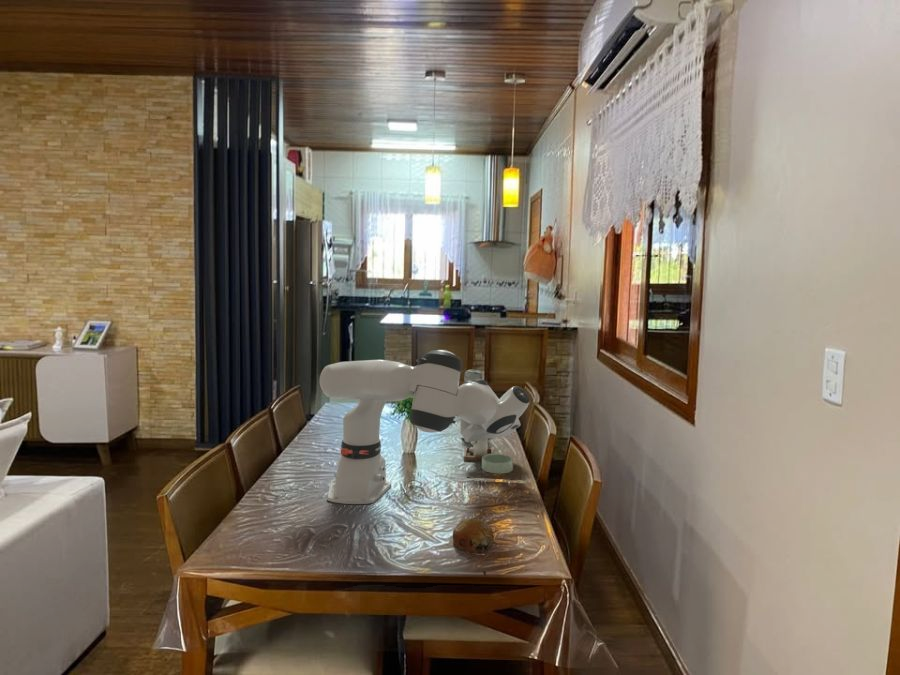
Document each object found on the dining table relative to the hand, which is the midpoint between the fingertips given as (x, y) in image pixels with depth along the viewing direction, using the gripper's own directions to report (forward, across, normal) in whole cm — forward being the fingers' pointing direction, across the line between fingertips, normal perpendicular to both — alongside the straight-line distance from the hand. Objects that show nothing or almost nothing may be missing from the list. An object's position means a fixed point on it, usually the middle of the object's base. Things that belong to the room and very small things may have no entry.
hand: (479, 441), depth 215 cm
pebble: (+8, 0, -1) cm, 8 cm away
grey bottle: (+21, +14, +11) cm, 28 cm away
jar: (+4, 0, -5) cm, 6 cm away
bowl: (-4, -2, -13) cm, 14 cm away
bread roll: (-31, -42, -41) cm, 67 cm away
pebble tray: (+6, +1, -4) cm, 7 cm away
